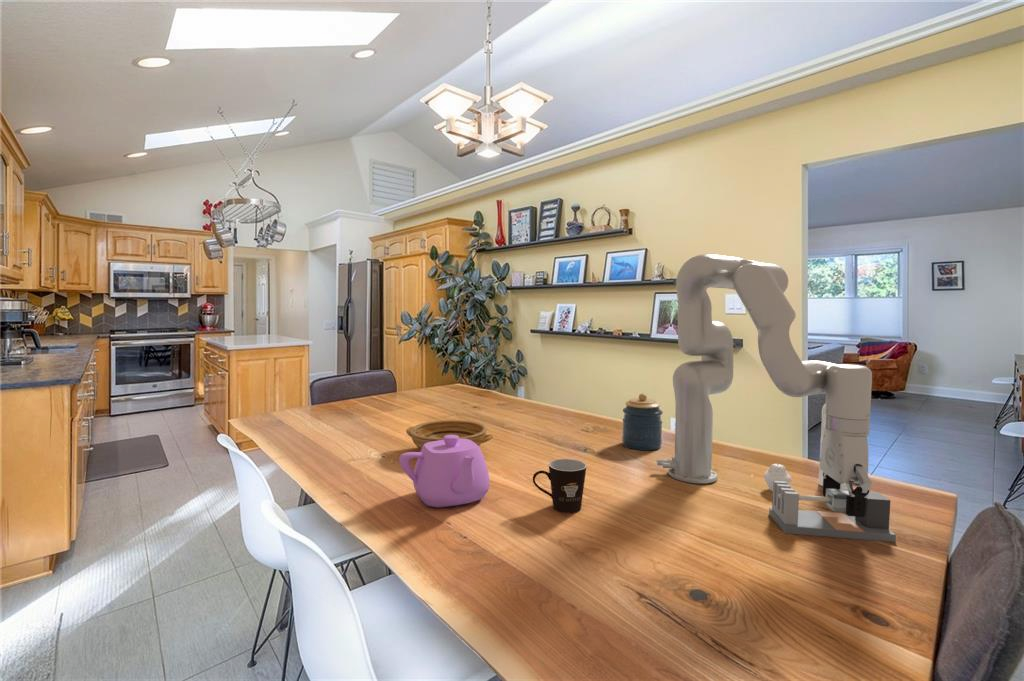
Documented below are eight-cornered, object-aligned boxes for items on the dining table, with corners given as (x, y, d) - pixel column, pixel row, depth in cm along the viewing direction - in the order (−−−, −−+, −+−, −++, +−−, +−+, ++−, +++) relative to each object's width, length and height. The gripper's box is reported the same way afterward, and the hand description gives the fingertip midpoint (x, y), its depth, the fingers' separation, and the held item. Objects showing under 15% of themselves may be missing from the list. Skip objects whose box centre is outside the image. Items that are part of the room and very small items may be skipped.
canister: (667, 451, 152) (668, 397, 151) (626, 451, 152) (627, 397, 151) (655, 440, 165) (656, 390, 164) (618, 440, 165) (619, 390, 164)
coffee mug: (588, 502, 110) (589, 461, 110) (582, 517, 102) (582, 473, 102) (541, 496, 114) (541, 455, 114) (531, 510, 106) (531, 467, 106)
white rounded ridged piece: (767, 484, 123) (768, 458, 122) (794, 490, 118) (795, 463, 118) (759, 490, 118) (760, 463, 118) (786, 497, 114) (788, 469, 114)
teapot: (392, 493, 116) (392, 433, 115) (473, 480, 125) (473, 424, 124) (414, 532, 95) (413, 460, 94) (508, 514, 104) (508, 447, 103)
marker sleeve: (833, 511, 96) (834, 494, 96) (825, 503, 100) (825, 488, 100) (860, 512, 95) (861, 496, 95) (851, 505, 99) (852, 490, 99)
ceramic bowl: (506, 447, 155) (506, 423, 154) (475, 471, 132) (475, 443, 132) (427, 439, 165) (427, 416, 164) (386, 459, 142) (386, 433, 142)
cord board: (784, 533, 96) (786, 494, 95) (769, 514, 104) (770, 479, 104) (895, 542, 92) (897, 502, 92) (869, 522, 101) (871, 485, 100)
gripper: (808, 414, 106) (804, 489, 107) (848, 434, 89) (843, 522, 90) (845, 416, 104) (841, 491, 105) (893, 436, 87) (888, 526, 88)
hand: (842, 505), depth 98 cm, fingers open, 9 cm apart
